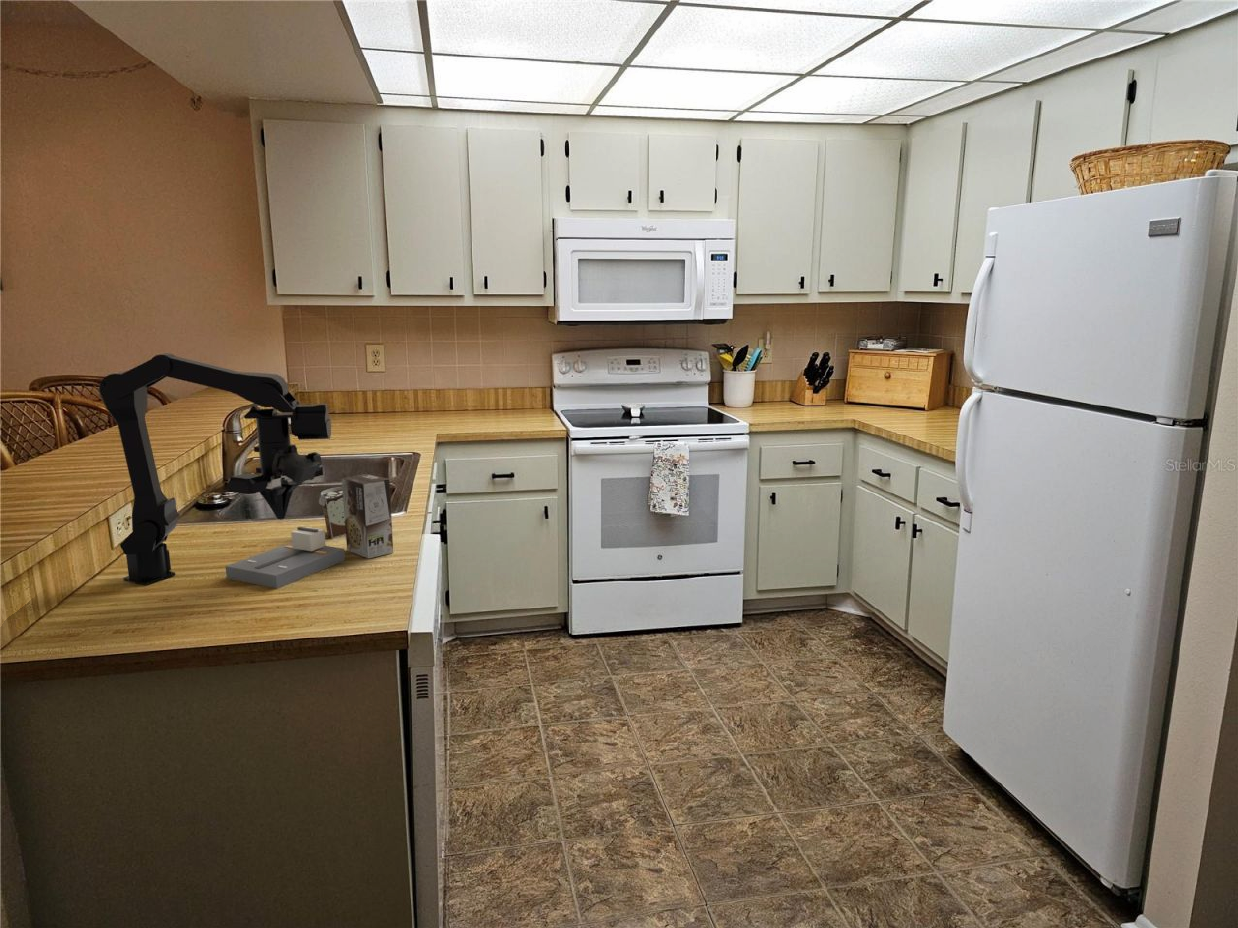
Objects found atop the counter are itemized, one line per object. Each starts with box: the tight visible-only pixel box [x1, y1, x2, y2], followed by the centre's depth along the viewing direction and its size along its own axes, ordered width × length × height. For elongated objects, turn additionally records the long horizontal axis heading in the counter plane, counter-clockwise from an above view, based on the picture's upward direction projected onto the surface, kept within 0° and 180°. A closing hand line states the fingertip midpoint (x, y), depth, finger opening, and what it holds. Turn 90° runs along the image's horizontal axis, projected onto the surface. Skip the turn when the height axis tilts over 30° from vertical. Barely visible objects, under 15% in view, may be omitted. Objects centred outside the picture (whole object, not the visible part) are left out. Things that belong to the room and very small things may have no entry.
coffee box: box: [341, 473, 394, 559], centre depth 172 cm, size 9×6×16 cm
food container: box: [318, 486, 346, 540], centre depth 187 cm, size 12×6×10 cm, turn 144°
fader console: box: [225, 542, 346, 589], centre depth 161 cm, size 18×13×3 cm
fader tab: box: [290, 526, 327, 551], centre depth 166 cm, size 4×5×4 cm
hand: (281, 518), depth 159 cm, fingers closed
